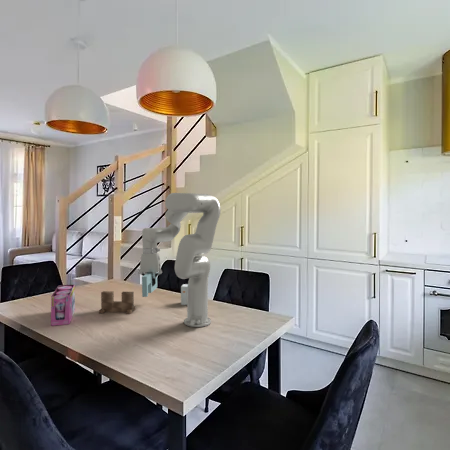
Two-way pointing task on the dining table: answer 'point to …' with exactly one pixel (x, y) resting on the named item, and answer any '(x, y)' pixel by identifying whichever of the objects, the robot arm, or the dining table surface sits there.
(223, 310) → the dining table surface
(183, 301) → the small box
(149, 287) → the notched board
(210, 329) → the dining table surface
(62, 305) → the gum box
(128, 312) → the notched wall
